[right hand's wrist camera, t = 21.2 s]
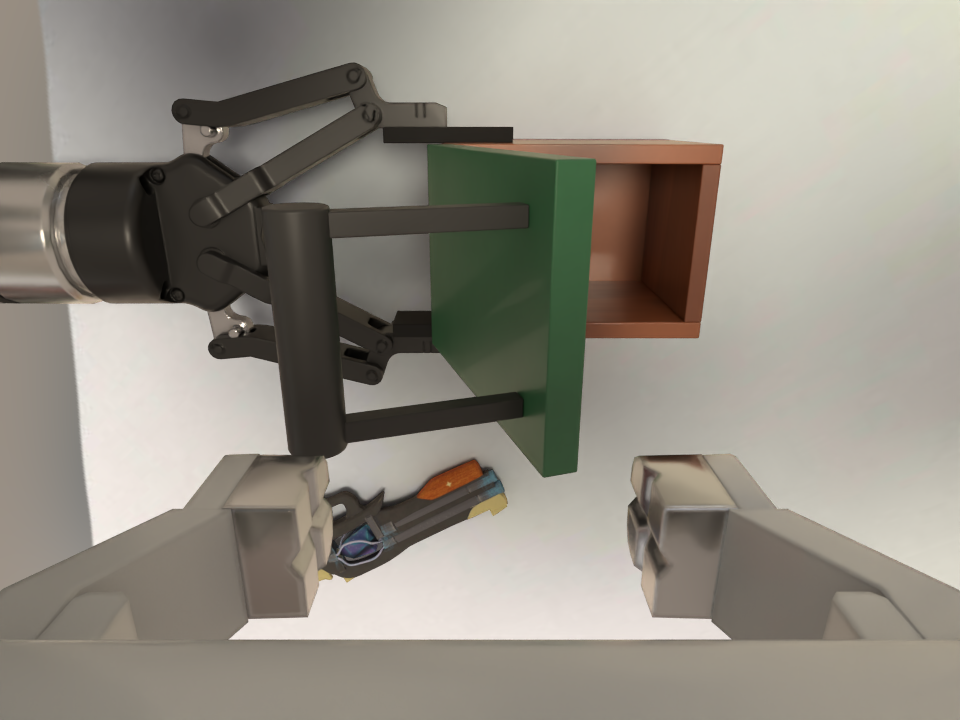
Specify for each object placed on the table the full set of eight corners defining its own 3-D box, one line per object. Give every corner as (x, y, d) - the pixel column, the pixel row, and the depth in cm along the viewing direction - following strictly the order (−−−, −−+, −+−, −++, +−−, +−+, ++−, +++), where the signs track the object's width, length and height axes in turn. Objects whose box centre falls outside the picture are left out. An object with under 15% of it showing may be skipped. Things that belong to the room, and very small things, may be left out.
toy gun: (212, 512, 45) (284, 622, 47) (449, 393, 44) (513, 512, 46) (226, 495, 48) (293, 601, 50) (450, 383, 47) (510, 496, 49)
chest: (664, 139, 39) (724, 144, 30) (650, 291, 43) (699, 339, 33) (449, 139, 39) (440, 143, 30) (451, 290, 43) (443, 338, 33)
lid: (597, 158, 17) (255, 164, 14) (577, 472, 20) (296, 522, 18) (452, 144, 29) (253, 145, 27) (454, 341, 33) (277, 359, 30)
